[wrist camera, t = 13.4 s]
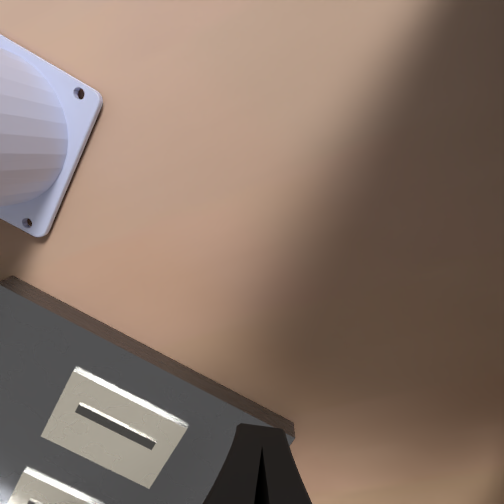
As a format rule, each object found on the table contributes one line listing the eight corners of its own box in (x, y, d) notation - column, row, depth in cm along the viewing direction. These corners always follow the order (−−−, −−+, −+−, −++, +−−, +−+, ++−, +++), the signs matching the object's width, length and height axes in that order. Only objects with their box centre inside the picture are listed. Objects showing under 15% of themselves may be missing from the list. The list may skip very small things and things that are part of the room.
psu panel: (-89, 523, 25) (-111, 546, 23) (12, 275, 20) (-9, 285, 18) (144, 627, 26) (136, 654, 25) (293, 422, 21) (295, 442, 20)
